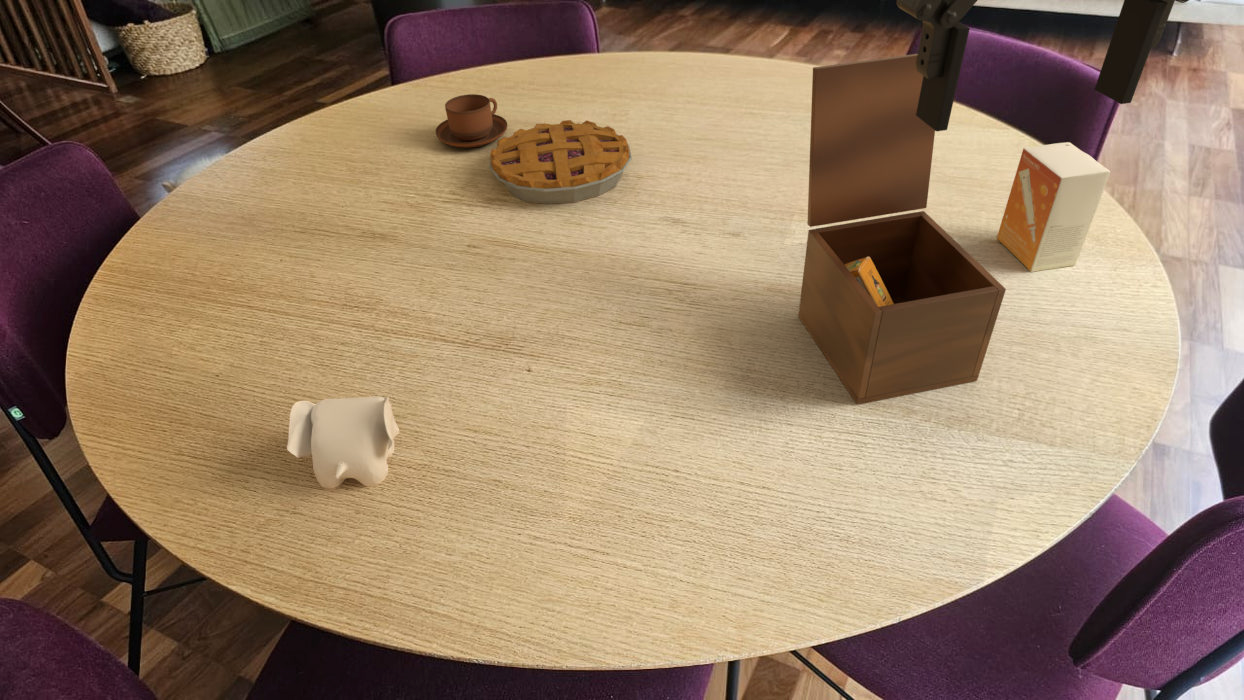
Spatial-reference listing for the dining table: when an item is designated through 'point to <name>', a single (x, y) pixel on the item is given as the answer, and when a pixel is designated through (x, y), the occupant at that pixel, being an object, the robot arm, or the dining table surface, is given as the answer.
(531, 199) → the pie
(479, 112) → the cup and saucer
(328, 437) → the elephant figurine
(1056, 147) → the small box
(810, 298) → the chest
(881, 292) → the supplement box
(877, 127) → the lid
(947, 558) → the dining table surface
